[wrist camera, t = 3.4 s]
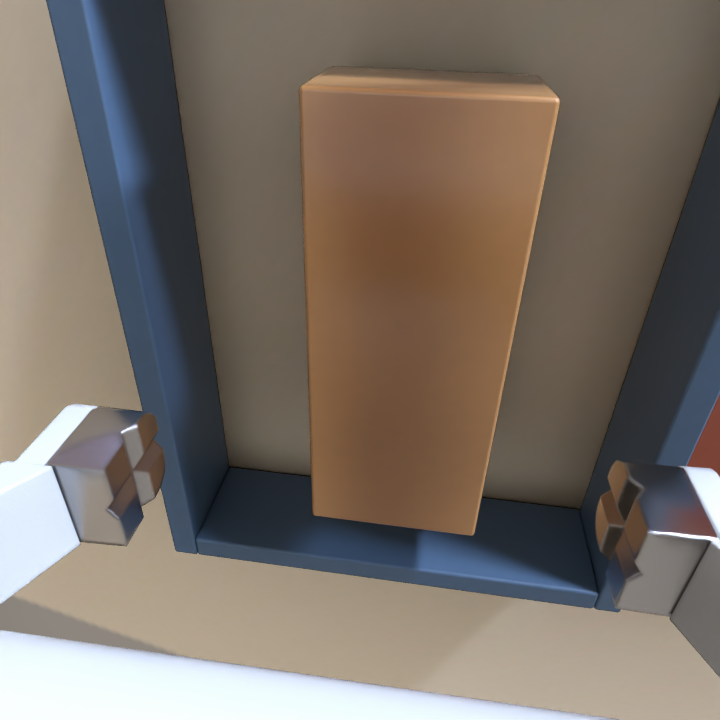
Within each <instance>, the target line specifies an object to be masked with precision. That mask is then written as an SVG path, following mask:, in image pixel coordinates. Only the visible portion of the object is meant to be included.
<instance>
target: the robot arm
mask: <svg viewBox="0 0 720 720" xmlns="http://www.w3.org/2000/svg"><path fill="white" fill-rule="evenodd" d="M158 431H159V427H158V424H157V420H156V416H155V415H153V414H151V413H150V412H142V411H134V410H126V409H118V408H110V407H102V406H99V407H97V406H90V405H82V404H72V405H69V406H66V407H65V408H64V409H63V410H62V411H61V412H60V413H59V415H58V416H57V417H56V418H55V419H54V420H53V421H52V422H51V423H50V424H49V425H48V426H47V427H46V429H45V430H44V431H43V432H42V433H41V434H40V435H39V436H38V437H37V438H36V439H35V440H34V441H33V442H32V444H31V445H30V446H29V447H28V448H27V449H26V450H25V451H24V452H23V453H22V454H21V455H20V456H19V458H18V459H17V460H16V461H15V462H11V461H5V462H3V463H1V464H0V604H1V603H2V602H4V601H5V600H6V599H8V598H9V597H10V596H12V595H13V594H14V593H16V592H17V591H18V590H20V589H21V588H23V587H24V586H25V585H27V584H28V583H29V582H31V581H32V580H33V579H35V578H36V577H37V576H39V575H40V574H41V573H43V572H44V571H45V570H47V569H48V568H49V567H51V566H52V565H53V564H55V563H56V562H57V561H59V560H60V559H62V558H63V557H64V556H66V555H67V554H68V553H70V552H71V551H72V550H74V549H75V548H76V547H78V546H79V545H80V542H87V543H97V544H107V545H118V546H127V545H128V543H129V541H130V540H131V538H132V536H133V534H134V533H135V531H136V529H137V528H138V526H139V524H140V523H141V521H142V519H143V517H144V516H143V512H142V509H141V506H143V505H145V504H146V503H148V502H149V501H151V500H153V499H154V498H155V497H156V495H157V493H158V491H159V489H160V488H161V485H162V481H163V478H164V474H165V454H164V449H163V448H162V447H161V446H160V445H159V444H158V443H157V442H156V441H155V440H154V437H155V436H156V434H157V433H158ZM607 478H608V481H609V485H610V488H611V489H610V490H609V491H607V492H606V493H604V494H603V495H601V496H600V500H599V503H598V506H597V509H596V519H595V531H596V539H597V543H598V547H599V551H600V552H601V553H602V554H603V555H604V556H605V557H606V558H608V559H609V560H610V562H609V565H608V568H607V570H606V577H607V581H608V584H609V588H610V591H611V595H612V599H613V602H614V606H615V608H616V609H623V610H630V611H636V612H643V613H649V614H656V615H662V616H669V617H670V620H671V622H672V623H673V624H674V625H675V626H676V627H677V629H678V630H679V631H680V632H681V633H682V634H683V635H684V637H685V638H686V639H687V640H688V641H689V642H690V644H691V645H692V646H693V647H694V648H695V649H696V651H697V652H698V653H699V654H700V655H701V656H702V658H703V659H704V660H705V661H706V662H707V663H708V665H709V666H710V667H711V668H712V669H713V670H714V671H715V673H716V674H717V675H718V676H719V677H720V477H719V475H718V474H717V473H716V472H715V471H714V470H712V469H711V468H700V467H688V466H678V467H677V466H670V465H659V464H649V463H639V462H628V461H618V460H616V461H615V462H614V464H613V465H612V466H611V469H610V471H609V474H608V477H607ZM0 720H619V719H612V718H605V717H598V716H591V715H585V714H578V713H571V712H564V711H557V710H550V709H543V708H536V707H529V706H522V705H515V704H508V703H501V702H494V701H487V700H480V699H473V698H466V697H459V696H452V695H445V694H438V693H431V692H424V691H417V690H410V689H403V688H396V687H390V686H383V685H376V684H369V683H362V682H355V681H348V680H341V679H334V678H327V677H321V676H314V675H307V674H300V673H293V672H286V671H279V670H272V669H266V668H259V667H252V666H245V665H238V664H231V663H224V662H218V661H211V660H204V659H197V658H190V657H183V656H176V655H169V654H162V653H156V652H148V651H142V650H135V649H128V648H121V647H113V646H107V645H100V644H93V643H87V642H80V641H72V640H66V639H58V638H52V637H45V636H38V635H31V634H24V633H17V632H11V631H4V630H0Z"/></svg>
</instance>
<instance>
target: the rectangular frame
mask: <svg viewBox="0 0 720 720" xmlns="http://www.w3.org/2000/svg"><path fill="white" fill-rule="evenodd" d="M46 1H47V6H48V10H49V14H50V18H51V23H52V27H53V31H54V35H55V40H56V44H57V48H58V53H59V57H60V61H61V65H62V70H63V74H64V78H65V82H66V87H67V91H68V95H69V99H70V104H71V108H72V112H73V116H74V121H75V125H76V129H77V133H78V138H79V142H80V146H81V150H82V155H83V159H84V163H85V167H86V172H87V176H88V180H89V184H90V189H91V193H92V197H93V201H94V206H95V210H96V214H97V218H98V223H99V227H100V231H101V235H102V240H103V244H104V248H105V252H106V257H107V261H108V265H109V269H110V274H111V278H112V282H113V286H114V291H115V295H116V299H117V303H118V308H119V312H120V316H121V320H122V325H123V329H124V333H125V337H126V342H127V346H128V350H129V354H130V359H131V363H132V367H133V371H134V376H135V380H136V384H137V388H138V393H139V397H140V401H141V405H142V410H143V412H150V413H151V414H153V415H155V416H156V420H157V424H158V427H159V431H158V433H157V434H156V436H155V437H154V440H155V441H156V442H157V443H158V444H159V445H160V446H161V447H162V448H163V449H164V454H165V474H164V478H163V481H162V485H161V491H162V495H163V499H164V503H165V508H166V512H167V516H168V520H169V525H170V529H171V533H172V537H173V542H174V546H175V550H176V551H178V552H185V553H193V554H197V553H199V554H202V555H209V556H217V557H224V558H231V559H238V560H245V561H253V562H260V563H267V564H274V565H281V566H289V567H296V568H303V569H310V570H317V571H325V572H332V573H339V574H346V575H354V576H361V577H368V578H375V579H382V580H390V581H397V582H404V583H411V584H418V585H426V586H433V587H440V588H447V589H455V590H462V591H469V592H476V593H483V594H491V595H498V596H505V597H512V598H519V599H527V600H534V601H541V602H548V603H556V604H563V605H570V606H577V607H584V608H593V607H594V608H595V609H598V610H605V611H612V612H620V610H621V609H616V608H615V606H614V602H613V599H612V595H611V591H610V588H609V584H608V581H607V577H606V570H607V568H608V565H609V562H610V560H609V559H608V558H606V557H605V556H604V555H603V554H602V553H601V552H600V551H599V547H598V543H597V539H596V531H595V519H596V509H597V506H598V503H599V500H600V496H601V495H603V494H604V493H606V492H607V491H609V490H610V489H611V488H610V485H609V481H608V478H607V477H608V474H609V471H610V469H611V466H612V465H613V464H614V462H615V461H616V460H618V461H628V462H639V463H649V464H659V465H670V466H677V467H678V466H687V464H688V462H689V460H690V457H691V455H692V453H693V451H694V449H695V447H696V444H697V442H698V440H699V438H700V436H701V433H702V431H703V429H704V427H705V425H706V423H707V420H708V418H709V416H710V414H711V412H712V409H713V407H714V405H715V403H716V401H717V399H718V396H719V394H720V102H719V105H718V108H717V111H716V113H715V116H714V119H713V122H712V125H711V128H710V131H709V134H708V137H707V140H706V143H705V146H704V149H703V152H702V155H701V158H700V161H699V163H698V166H697V169H696V172H695V175H694V178H693V181H692V184H691V187H690V190H689V193H688V196H687V199H686V202H685V205H684V208H683V211H682V213H681V216H680V219H679V222H678V225H677V228H676V231H675V234H674V237H673V240H672V243H671V246H670V249H669V252H668V255H667V258H666V261H665V263H664V266H663V269H662V272H661V275H660V278H659V281H658V284H657V287H656V290H655V293H654V296H653V299H652V302H651V305H650V308H649V311H648V313H647V316H646V319H645V322H644V325H643V328H642V331H641V334H640V337H639V340H638V343H637V346H636V349H635V352H634V355H633V358H632V360H631V363H630V366H629V369H628V372H627V375H626V378H625V381H624V384H623V387H622V390H621V393H620V396H619V399H618V402H617V405H616V408H615V410H614V413H613V416H612V419H611V422H610V425H609V428H608V431H607V434H606V437H605V440H604V443H603V446H602V449H601V452H600V455H599V458H598V460H597V463H596V466H595V469H594V472H593V475H592V478H591V481H590V484H589V487H588V490H587V493H586V496H585V499H584V502H583V505H582V508H581V510H580V511H579V510H578V509H570V508H562V507H554V506H545V505H537V504H529V503H521V502H512V501H504V500H496V499H488V498H481V503H480V508H479V513H478V518H477V523H476V528H475V533H474V534H473V535H472V536H469V535H461V534H454V533H446V532H438V531H430V530H422V529H415V528H407V527H399V526H391V525H383V524H376V523H368V522H360V521H352V520H345V519H337V518H329V517H321V516H315V515H313V512H312V484H311V477H306V476H298V475H290V474H281V473H273V472H265V471H257V470H248V469H240V468H232V467H231V468H229V466H228V459H227V452H226V444H225V437H224V430H223V423H222V416H221V409H220V402H219V394H218V387H217V380H216V373H215V366H214V359H213V352H212V344H211V337H210V330H209V323H208V316H207V309H206V302H205V294H204V287H203V280H202V273H201V266H200V259H199V252H198V244H197V237H196V230H195V223H194V216H193V209H192V202H191V194H190V187H189V180H188V173H187V166H186V159H185V152H184V144H183V137H182V130H181V123H180V116H179V109H178V102H177V94H176V87H175V80H174V73H173V66H172V59H171V52H170V44H169V37H168V30H167V23H166V16H165V9H164V2H163V0H46Z"/></svg>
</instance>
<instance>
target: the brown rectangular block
mask: <svg viewBox="0 0 720 720" xmlns="http://www.w3.org/2000/svg"><path fill="white" fill-rule="evenodd" d="M559 106H560V100H559V98H558V97H557V96H556V94H555V93H554V92H553V91H552V90H551V89H550V88H549V87H548V86H547V84H546V83H545V82H544V81H543V80H542V79H541V78H540V77H539V76H537V75H524V74H501V73H478V72H455V71H432V70H410V69H387V68H364V67H341V66H332V67H330V68H328V69H327V70H325V71H323V72H322V73H320V74H319V75H317V76H316V77H314V78H312V79H311V80H309V81H308V82H306V83H304V84H303V85H301V86H300V88H299V111H300V142H301V173H302V204H303V235H304V266H305V297H306V328H307V359H308V390H309V422H310V453H311V484H312V512H313V515H315V516H321V517H329V518H337V519H345V520H352V521H360V522H368V523H376V524H383V525H391V526H399V527H407V528H415V529H422V530H430V531H438V532H446V533H454V534H461V535H469V536H472V535H473V534H474V533H475V528H476V523H477V518H478V513H479V508H480V503H481V498H482V492H483V487H484V482H485V477H486V472H487V467H488V462H489V457H490V452H491V447H492V442H493V437H494V432H495V427H496V422H497V417H498V412H499V407H500V402H501V397H502V392H503V387H504V382H505V377H506V372H507V367H508V362H509V357H510V352H511V347H512V342H513V337H514V332H515V327H516V322H517V317H518V312H519V307H520V302H521V297H522V292H523V287H524V281H525V276H526V271H527V266H528V261H529V256H530V251H531V246H532V241H533V236H534V231H535V226H536V221H537V216H538V211H539V206H540V201H541V196H542V191H543V186H544V181H545V176H546V171H547V166H548V161H549V156H550V151H551V146H552V141H553V136H554V131H555V126H556V121H557V116H558V111H559Z"/></svg>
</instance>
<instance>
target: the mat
mask: <svg viewBox="0 0 720 720" xmlns="http://www.w3.org/2000/svg"><path fill="white" fill-rule="evenodd" d="M687 466H688V467H700V468H711V469H712V470H714V471H715V472H716V473H717V474H718V475H719V477H720V394H719V396H718V399H717V401H716V403H715V405H714V407H713V409H712V412H711V414H710V416H709V418H708V420H707V423H706V425H705V427H704V429H703V431H702V433H701V436H700V438H699V440H698V442H697V444H696V447H695V449H694V451H693V453H692V455H691V457H690V460H689V462H688V464H687Z"/></svg>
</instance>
